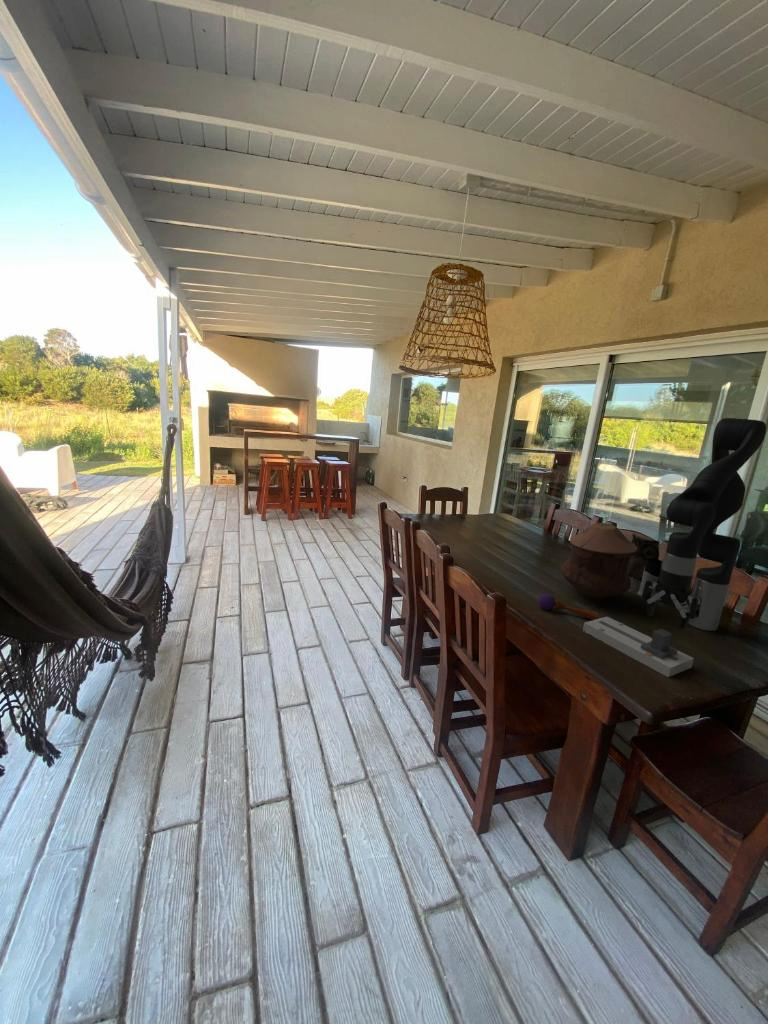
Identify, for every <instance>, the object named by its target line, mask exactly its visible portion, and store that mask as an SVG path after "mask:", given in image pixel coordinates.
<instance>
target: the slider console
mask: <svg viewBox="0 0 768 1024" xmlns="http://www.w3.org/2000/svg"><path fill="white" fill-rule="evenodd" d="M584 631H585V632H584ZM582 632H584V633H586V634H588V635H589V634H590V635H589V636H591V635H592V637H594V638H595V639H597V640H599V641H600V640H601V642H602V641H603V642H602V643H603V644H606V645H608V646H609V647H612V648H613V649H615V650H617V651H619V652H621V653H623V654H624V655H626V656H628V657H630V658H632V659H633V660H635V661H637V662H640V663H641V664H643V665H645V666H646V667H648V668H650V669H652V670H654V671H656V672H657V673H659V674H661V675H663V676H664V677H667V678H670V677H673V676H675V675H677V674H679V673H680V674H681V672H684V671H686V670H689V669H691V668H692V667H693V663H694V657H693V656H690V655H688V654H685V653H684V652H682V651H679V650H678V651H677V653H675V654H673V655H670V656H667V657H665V658H662V659H661V658H659V657H657V656H655V655H653V654H651V653H649V652H648V651H646V650H644V649H642V648H641V645H642V644H645V643H648V642H651V641H652V637H650V636H648V635H647V634H644V633H642V632H640V631H637V630H636V629H634V628H631V626H630V627H629V626H627V625H625V624H624V623H623V622H620V621H617V620H615V619H613V618H611V617H610V616H604V617H601V618H597V619H596V620H589V621H585V622H584V623H583V627H582Z"/></svg>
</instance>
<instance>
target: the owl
mask: <svg viewBox="0 0 768 1024" xmlns="http://www.w3.org/2000/svg"><path fill="white" fill-rule="evenodd" d="M630 542H631V543H633V544H634V545H635V546H637V548H638V549H637V551H635V552H633V553H631V555H630V560H629V564H628V568H627V573H628V575H629V576H630V578H631V577H633V578H632V579H634V580H636V579H637V581H639V580H640V581H639V582H641V581H642V577H643V572H644V568H645V565H646V561H647V559H657V560H660V546H659V545H660V540H656V539H653V538H649V537H647V536H641V535H637V534H636V533H632V540H631V541H630Z"/></svg>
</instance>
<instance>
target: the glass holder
mask: <svg viewBox="0 0 768 1024" xmlns="http://www.w3.org/2000/svg"><path fill="white" fill-rule="evenodd" d="M662 562H663V560H660V559H658V560H657V559H647V561H646V565H645V568H644V572H643V577H642V582H641V581H640V585H639V586H640V587H639V590H638V591H637V594H638V595H639V596H640V595H641V596H640V597H642V594H643V590H644V587H645V583H646V581H649V580H654V582H656V583H658V582H659V575H660V571H661V566H662ZM656 594H658V592H657V590H656V587H655V588H653V590H652V593H651V597H653V596H654V595H656ZM659 601H662V599H660V600H659Z"/></svg>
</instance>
